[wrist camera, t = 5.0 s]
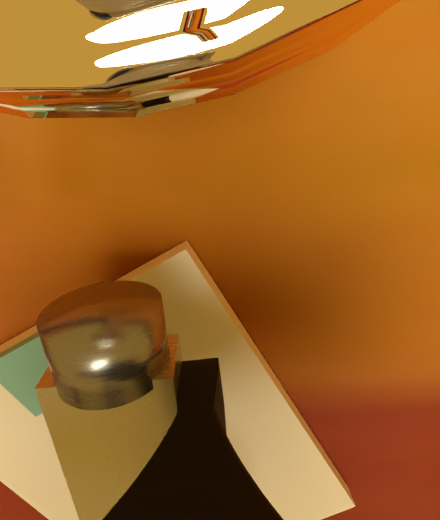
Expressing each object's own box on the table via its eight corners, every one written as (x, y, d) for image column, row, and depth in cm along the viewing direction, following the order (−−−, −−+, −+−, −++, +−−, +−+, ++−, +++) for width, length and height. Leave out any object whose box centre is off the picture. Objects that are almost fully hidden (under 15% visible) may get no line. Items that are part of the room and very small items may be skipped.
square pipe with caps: (242, 556, 17) (250, 652, 14) (99, 568, 17) (76, 666, 14) (225, 272, 11) (232, 332, 8) (5, 288, 11) (-69, 354, 8)
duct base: (140, 569, 22) (129, 643, 19) (-77, 388, 16) (-144, 453, 13) (348, 487, 20) (374, 556, 17) (186, 239, 14) (181, 276, 11)
